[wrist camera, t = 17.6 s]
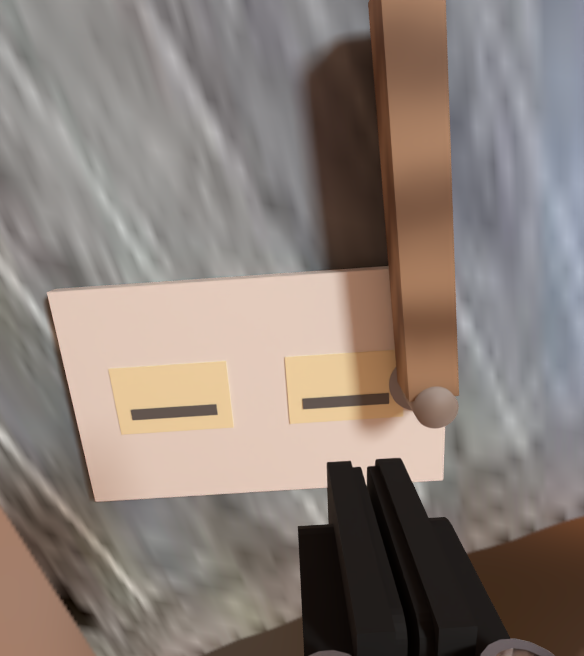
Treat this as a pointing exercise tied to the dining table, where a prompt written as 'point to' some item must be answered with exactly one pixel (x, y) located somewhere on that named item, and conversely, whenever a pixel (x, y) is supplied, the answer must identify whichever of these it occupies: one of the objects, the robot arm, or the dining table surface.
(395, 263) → the bar
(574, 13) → the dining table surface
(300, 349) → the label plate
